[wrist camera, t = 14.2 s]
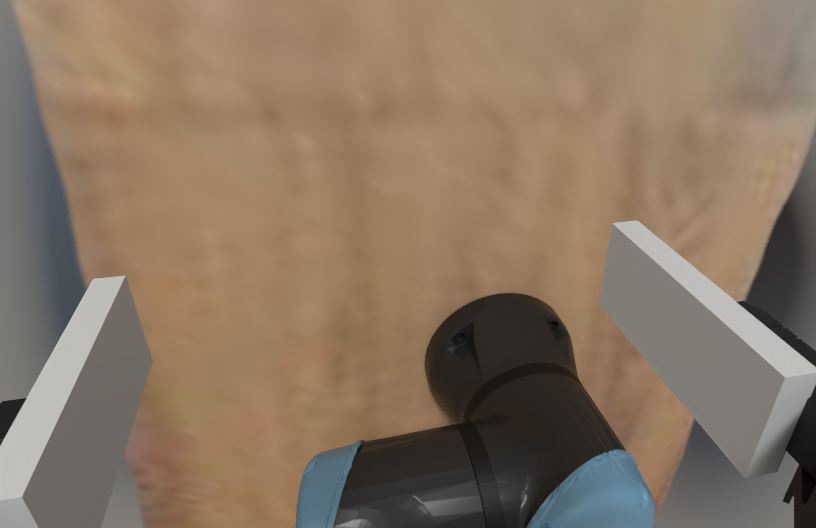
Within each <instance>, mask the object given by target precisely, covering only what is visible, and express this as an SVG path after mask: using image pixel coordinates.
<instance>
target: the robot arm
mask: <svg viewBox="0 0 816 528" xmlns="http://www.w3.org/2000/svg"><path fill="white" fill-rule="evenodd" d="M598 304H599V305H600V306H601V307H602V309H603V310H604V311H605V312H606V313H607V315H608V316H609V317H610V318H611V319H612V320H613V322H614V323H615V324H616V325H617V326H618V328H619V329H620V330H621V331H622V332H623V334H624V335H625V336H626V337H627V338H628V340H629V341H630V342H631V343H632V344H633V345H634V347H635V348H636V349H637V350H638V351H639V353H640V354H641V355H642V356H643V357H644V359H645V360H646V361H647V362H648V363H649V365H650V366H651V367H652V368H653V369H654V370H655V372H656V373H657V374H658V375H659V376H660V378H661V379H662V380H663V381H664V382H665V384H666V385H667V386H668V387H669V388H670V390H671V391H672V392H673V393H674V394H675V395H676V397H677V398H678V399H679V400H680V401H681V403H682V404H683V405H684V406H685V407H686V409H687V410H688V411H689V412H690V413H691V415H692V416H693V417H694V418H695V419H696V420H697V422H698V423H699V424H700V425H701V426H702V427H703V429H704V430H705V431H706V432H707V433H708V435H709V436H710V437H711V438H712V439H713V441H714V442H715V443H716V444H717V445H718V447H719V448H720V449H721V450H722V451H723V453H724V454H725V455H726V456H727V457H728V459H729V460H730V461H731V462H732V463H733V465H734V466H735V467H736V468H737V469H738V470H739V472H740V473H741V474H742V475H743V476H744V478H746V477H752V476H757V475H763V474H768V473H774V472H777V471H778V469H779V467H780V464H781V462H782V460H783V457H784V455H785V453H786V451H787V452H788V453H789V454H790V455H791V456H792V457H793V458H794V459H795V460H796V461H797V462H798V463H799V466H798V468H797V470H796V473H795V475H794V477H793V479H792V481H791V483H790V485H789V488H788V490H787V492H786V494H785V497H784V499H783V501H784V502H786V503H788V504H789V502H790V500H791V498H792V496H794V528H816V351H815V350H814V349H812V348H811V347H810V346H808V345H807V344H806V343H805V342H803V341H802V340H801V339H797V336H796V335H795V334H793V333H792V332H791V331H790V330H788V329H787V328H783V325H782V324H780V323H779V322H778V321H777V320H776V319H774V318H773V317H772V316H771V315H769V314H768V313H767V312H765V311H763V310H761V309H759V308H757V307H755V306H753V305H751V304H749V303H747V302H744V301H740V302H736V301H735V300H733V299H732V298H731V297H730V296H728V295H727V294H726V293H725V292H724V291H722V290H721V289H720V288H719V287H717V286H716V285H715V284H714V283H713V282H711V281H710V280H709V279H708V278H707V277H705V276H704V275H703V274H702V273H700V272H699V271H698V270H697V269H696V268H694V267H693V266H692V265H691V264H690V263H688V262H687V261H686V260H685V259H683V258H682V257H681V256H680V255H679V254H677V253H676V252H675V251H674V250H672V249H671V248H670V247H669V246H668V245H666V244H665V243H664V242H663V241H662V240H660V239H659V238H658V237H657V236H655V235H654V234H653V233H652V232H651V231H649V230H648V229H647V228H646V227H644V226H643V225H642V224H641V223H640V222H638V221H629V222H619V223H612V228H611V234H610V240H609V245H608V251H607V257H606V262H605V268H604V274H603V280H602V285H601V291H600V297H599V303H598ZM152 362H153V360H152V357H151V354H150V351H149V348H148V345H147V341H146V338H145V335H144V332H143V329H142V326H141V322H140V319H139V316H138V313H137V310H136V307H135V304H134V300H133V297H132V294H131V291H130V288H129V285H128V282H127V278H126V276H117V277H108V278H99V279H93V280H92V282H91V284H90V286H89V288H88V289H87V291H86V293H85V295H84V297H83V298H82V300H81V302H80V304H79V305H78V307H77V309H76V311H75V313H74V314H73V316H72V318H71V320H70V322H69V323H68V325H67V327H66V329H65V331H64V333H63V334H62V336H61V338H60V340H59V341H58V343H57V345H56V347H55V348H54V350H53V352H52V354H51V356H50V358H49V359H48V361H47V363H46V365H45V366H44V368H43V370H42V372H41V374H40V375H39V377H38V379H37V381H36V383H35V384H34V386H33V388H32V390H31V392H30V393H29V395H28V397H27V398H24V399H17V400H9V401H3V402H2V403H1V404H0V528H101V525H102V522H103V519H104V515H105V512H106V509H107V506H108V503H109V499H110V496H111V493H112V489H113V487H114V483H115V480H116V477H117V474H118V471H119V467H120V464H121V461H122V458H123V455H124V451H125V448H126V445H127V442H128V439H129V435H130V432H131V429H132V426H133V423H134V419H135V416H136V413H137V410H138V407H139V403H140V400H141V397H142V394H143V391H144V387H145V384H146V381H147V378H148V375H149V371H150V368H151V365H152ZM425 371H426V376H427V379H428V382H429V385H430V388H431V391H432V393H433V395H434V397H435V399H436V400H437V402H438V403H439V405H440V406H441V407H442V408H443V409H444V410H445V411H446V412H447V413H448V414H449V416H450V417H451V418H452V419H453V420H454V421H455V422H456V423H457V424H456V425H449V426H444V427H439V428H434V429H429V430H424V431H419V432H413V433H408V434H403V435H398V436H393V437H388V438H383V439H377V440H372V441H366V442H365V440H360V441H357V442H356V443H355V444H352V445H348V446H344V447H341V448H337V449H333V450H329V451H325V452H322V453H320V454H318V455H316V456H315V457H314V458H313V459H312V460H311V461H310V462H309V463H308V465H307V466H306V468H305V470H304V473H303V476H302V480H301V484H300V489H299V495H298V504H297V514H296V528H654V524H655V519H656V508H655V503H654V499H653V496H652V494H651V492H650V490H649V489H648V487H647V485H646V483H645V481H644V479H643V478H642V476H641V474H640V472H639V470H638V468H637V464H636V462H635V460H634V458H633V457H632V455H631V454H630V453H628V452H627V451H626V449H625V448H624V446H623V445H622V443H621V442H620V440H619V439H618V437H617V436H616V434H615V433H614V431H613V430H612V428H611V427H610V425H609V424H608V422H607V421H606V419H605V418H604V416H603V415H602V413H601V412H600V410H599V409H598V407H597V406H596V405H595V403H594V402H593V400H592V399H591V397H590V396H589V394H588V393H587V391H586V390H585V388H584V387H583V385H582V384H581V382H580V380H579V379H578V375H577V370H576V364H575V358H574V353H573V347H572V341H571V338H570V335H569V333H568V330H567V329H566V327H565V325H564V324H563V322H562V321H561V319H560V318H559V317H558V315H557V314H556V313H555V311H554V310H553V309H552V308H551V307H550V306H549V305H547V304H546V303H544V302H543V301H541V300H539V299H537V298H534V297H531V296H528V295H523V294H515V293H505V294H496V295H491V296H487V297H483V298H481V299H478V300H475V301H473V302H471V303H469V304H467V305H465V306H463V307H462V308H460V309H458V310H457V311H456V312H454V313H453V314H452V315H450V316H449V317H448V318H447V319H446V320H445V321H444V322H443V323H442V324H441V325H440V327H439V328H438V329H437V330H436V332H435V333H434V335H433V337H432V339H431V341H430V343H429V345H428V348H427V351H426V356H425Z"/></svg>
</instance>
